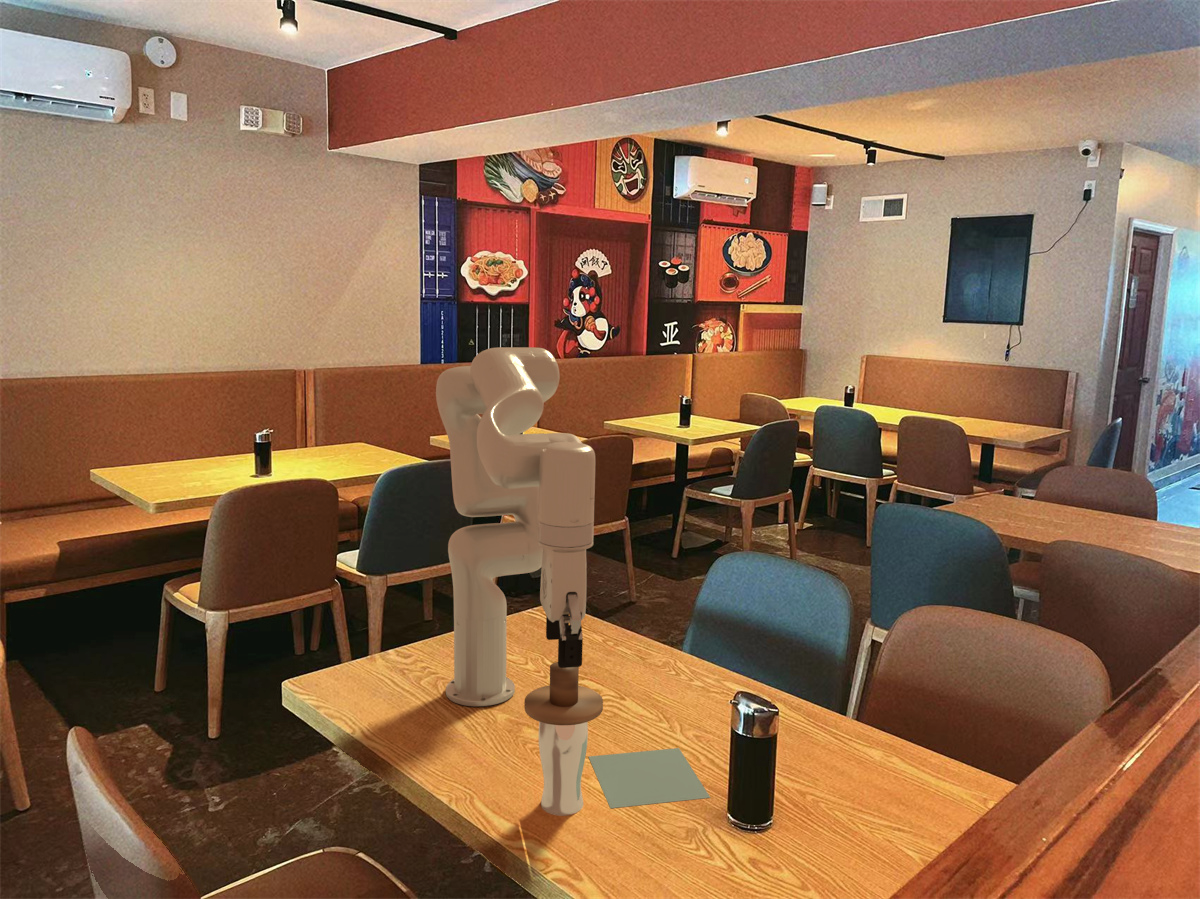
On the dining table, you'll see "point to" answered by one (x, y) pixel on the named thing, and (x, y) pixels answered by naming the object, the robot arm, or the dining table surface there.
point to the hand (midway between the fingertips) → (563, 652)
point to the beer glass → (562, 766)
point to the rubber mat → (647, 778)
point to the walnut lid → (563, 699)
